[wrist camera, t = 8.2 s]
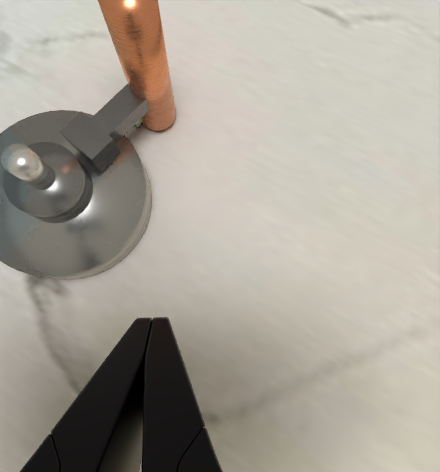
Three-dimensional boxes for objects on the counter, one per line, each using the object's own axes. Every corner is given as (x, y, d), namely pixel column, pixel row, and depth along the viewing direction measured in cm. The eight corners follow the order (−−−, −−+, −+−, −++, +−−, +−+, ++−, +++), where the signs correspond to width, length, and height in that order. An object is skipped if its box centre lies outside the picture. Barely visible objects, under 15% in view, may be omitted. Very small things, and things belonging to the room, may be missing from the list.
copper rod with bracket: (111, 184, 23) (45, 101, 13) (84, 161, 23) (0, 62, 14) (183, 112, 24) (168, -11, 14) (157, 91, 24) (125, -45, 15)
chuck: (85, 311, 22) (28, 315, 15) (-39, 219, 22) (-149, 181, 15) (182, 185, 23) (172, 135, 16) (63, 103, 24) (6, 23, 17)
